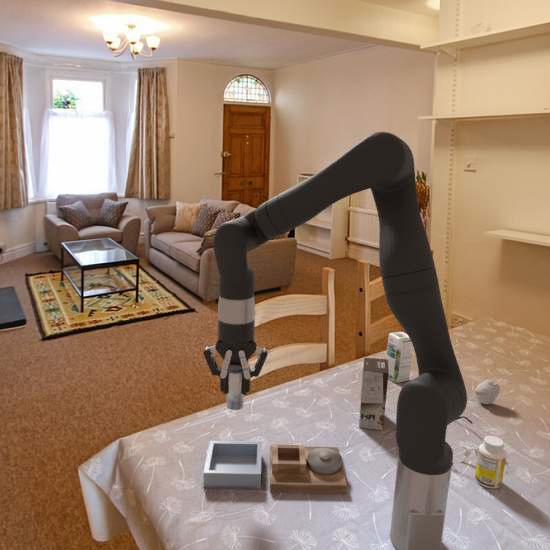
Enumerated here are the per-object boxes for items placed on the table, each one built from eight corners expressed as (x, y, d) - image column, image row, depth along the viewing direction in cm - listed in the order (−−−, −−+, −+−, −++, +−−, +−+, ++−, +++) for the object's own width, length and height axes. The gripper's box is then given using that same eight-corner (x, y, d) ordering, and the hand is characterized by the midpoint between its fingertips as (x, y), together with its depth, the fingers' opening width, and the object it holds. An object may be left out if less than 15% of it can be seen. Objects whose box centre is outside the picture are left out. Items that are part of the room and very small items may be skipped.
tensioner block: (346, 493, 109) (347, 474, 108) (270, 492, 109) (270, 473, 108) (337, 454, 123) (339, 437, 121) (270, 453, 122) (270, 435, 121)
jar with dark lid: (245, 411, 109) (246, 366, 107) (223, 410, 109) (223, 366, 107) (246, 400, 114) (247, 357, 111) (225, 400, 114) (225, 357, 111)
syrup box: (383, 376, 165) (387, 333, 161) (398, 373, 167) (402, 330, 164) (394, 383, 160) (399, 339, 156) (410, 380, 162) (414, 337, 159)
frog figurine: (502, 406, 148) (506, 383, 146) (483, 410, 146) (486, 387, 144) (487, 396, 154) (490, 374, 152) (468, 400, 151) (471, 378, 149)
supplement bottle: (493, 473, 117) (499, 433, 115) (506, 489, 112) (513, 447, 109) (469, 474, 117) (475, 433, 114) (481, 490, 111) (488, 448, 109)
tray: (260, 488, 110) (260, 474, 109) (203, 487, 110) (203, 472, 109) (261, 455, 121) (261, 441, 120) (209, 454, 121) (209, 440, 120)
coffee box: (383, 431, 133) (389, 373, 129) (358, 427, 135) (362, 370, 131) (383, 413, 142) (388, 358, 138) (359, 410, 143) (364, 356, 139)
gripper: (199, 321, 103) (199, 400, 107) (270, 323, 103) (268, 402, 107) (204, 309, 110) (204, 384, 114) (270, 311, 110) (268, 385, 114)
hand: (235, 392), depth 111 cm, fingers closed on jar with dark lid, 3 cm apart
